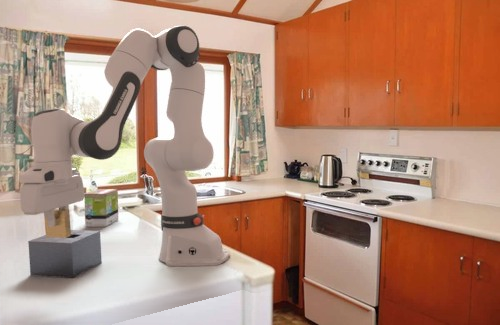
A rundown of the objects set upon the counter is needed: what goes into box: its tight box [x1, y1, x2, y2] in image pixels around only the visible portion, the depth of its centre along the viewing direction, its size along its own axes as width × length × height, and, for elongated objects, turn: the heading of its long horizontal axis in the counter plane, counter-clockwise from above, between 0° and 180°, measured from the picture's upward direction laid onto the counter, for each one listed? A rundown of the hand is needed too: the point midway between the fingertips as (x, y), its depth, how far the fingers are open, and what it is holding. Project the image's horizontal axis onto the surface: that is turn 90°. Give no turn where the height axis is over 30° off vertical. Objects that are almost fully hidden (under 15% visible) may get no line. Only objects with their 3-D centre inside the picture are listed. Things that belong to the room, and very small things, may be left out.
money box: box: [27, 229, 102, 279], centre depth 125 cm, size 14×14×10 cm
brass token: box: [43, 208, 72, 238], centre depth 108 cm, size 6×2×7 cm, turn 78°
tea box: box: [84, 188, 119, 228], centre depth 187 cm, size 15×10×15 cm
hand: (57, 224), depth 108 cm, fingers closed on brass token, 2 cm apart
